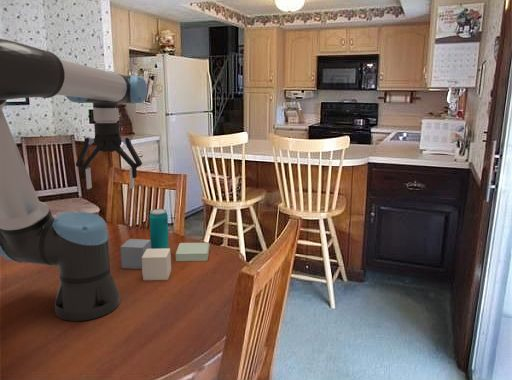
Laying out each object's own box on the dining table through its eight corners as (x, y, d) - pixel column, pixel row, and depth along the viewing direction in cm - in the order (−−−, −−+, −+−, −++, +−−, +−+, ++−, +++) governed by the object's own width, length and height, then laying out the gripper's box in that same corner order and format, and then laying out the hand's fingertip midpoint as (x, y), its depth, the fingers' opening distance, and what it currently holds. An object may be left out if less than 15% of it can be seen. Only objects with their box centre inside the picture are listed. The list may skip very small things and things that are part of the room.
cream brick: (167, 280, 121) (166, 257, 119) (143, 280, 120) (141, 257, 119) (171, 270, 128) (170, 248, 126) (148, 270, 127) (146, 248, 126)
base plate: (207, 260, 134) (207, 253, 134) (175, 261, 134) (175, 253, 133) (209, 249, 144) (209, 242, 143) (179, 249, 144) (179, 242, 143)
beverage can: (170, 250, 142) (169, 208, 138) (166, 257, 137) (165, 214, 133) (153, 250, 142) (151, 208, 138) (149, 257, 137) (147, 213, 133)
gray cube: (144, 269, 128) (142, 247, 126) (121, 268, 129) (120, 246, 127) (151, 260, 135) (150, 239, 133) (130, 259, 135) (129, 238, 134)
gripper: (149, 121, 137) (151, 185, 141) (69, 121, 135) (75, 186, 139) (145, 122, 130) (148, 190, 134) (61, 122, 127) (67, 190, 132)
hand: (110, 188), depth 137 cm, fingers open, 13 cm apart
